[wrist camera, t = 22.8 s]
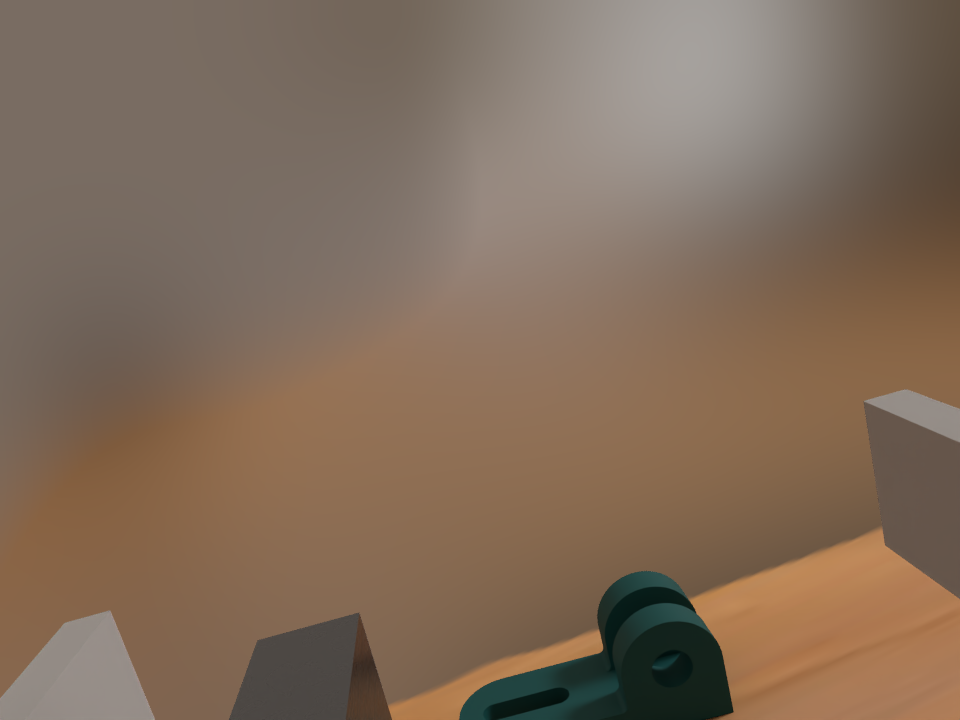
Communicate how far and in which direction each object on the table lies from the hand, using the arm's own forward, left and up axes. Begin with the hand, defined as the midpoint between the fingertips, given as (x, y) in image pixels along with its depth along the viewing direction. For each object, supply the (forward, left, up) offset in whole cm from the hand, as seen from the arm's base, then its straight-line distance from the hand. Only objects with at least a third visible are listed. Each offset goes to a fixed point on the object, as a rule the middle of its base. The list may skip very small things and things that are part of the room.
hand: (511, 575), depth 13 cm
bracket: (-20, -28, -30) cm, 46 cm away
